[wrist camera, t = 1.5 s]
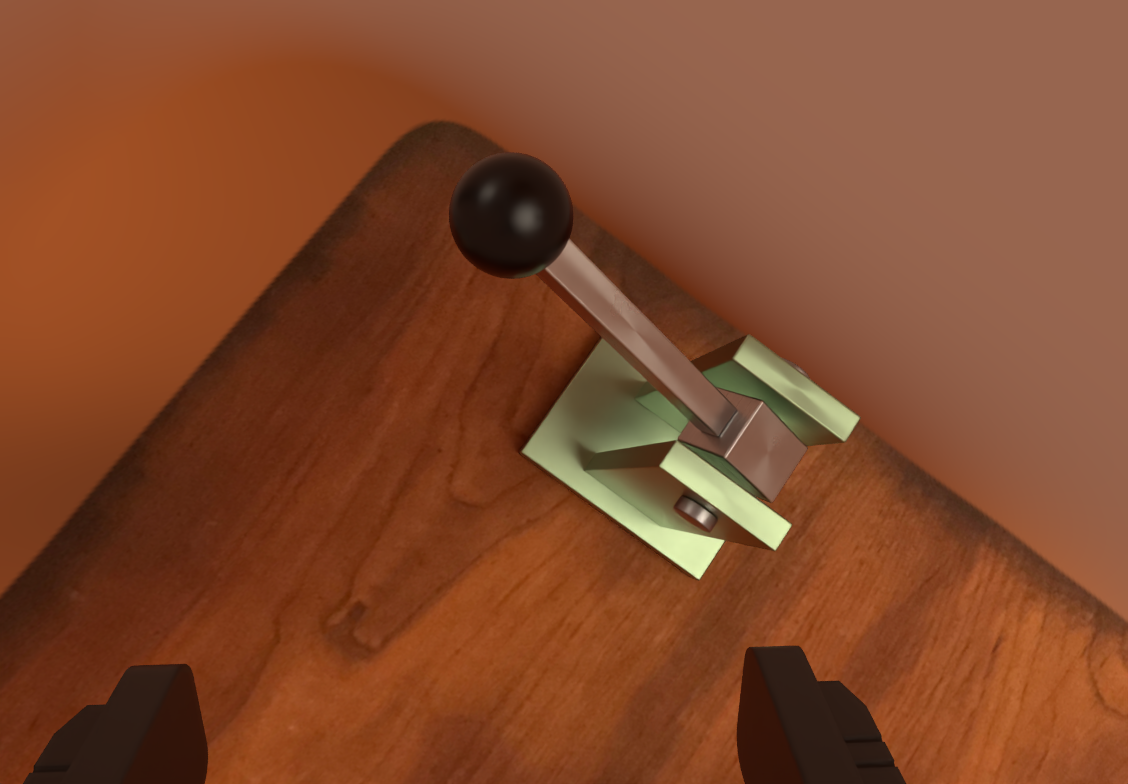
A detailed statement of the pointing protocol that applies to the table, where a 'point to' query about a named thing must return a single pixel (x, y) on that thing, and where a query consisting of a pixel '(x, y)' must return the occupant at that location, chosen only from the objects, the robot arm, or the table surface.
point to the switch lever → (612, 314)
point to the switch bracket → (675, 450)
